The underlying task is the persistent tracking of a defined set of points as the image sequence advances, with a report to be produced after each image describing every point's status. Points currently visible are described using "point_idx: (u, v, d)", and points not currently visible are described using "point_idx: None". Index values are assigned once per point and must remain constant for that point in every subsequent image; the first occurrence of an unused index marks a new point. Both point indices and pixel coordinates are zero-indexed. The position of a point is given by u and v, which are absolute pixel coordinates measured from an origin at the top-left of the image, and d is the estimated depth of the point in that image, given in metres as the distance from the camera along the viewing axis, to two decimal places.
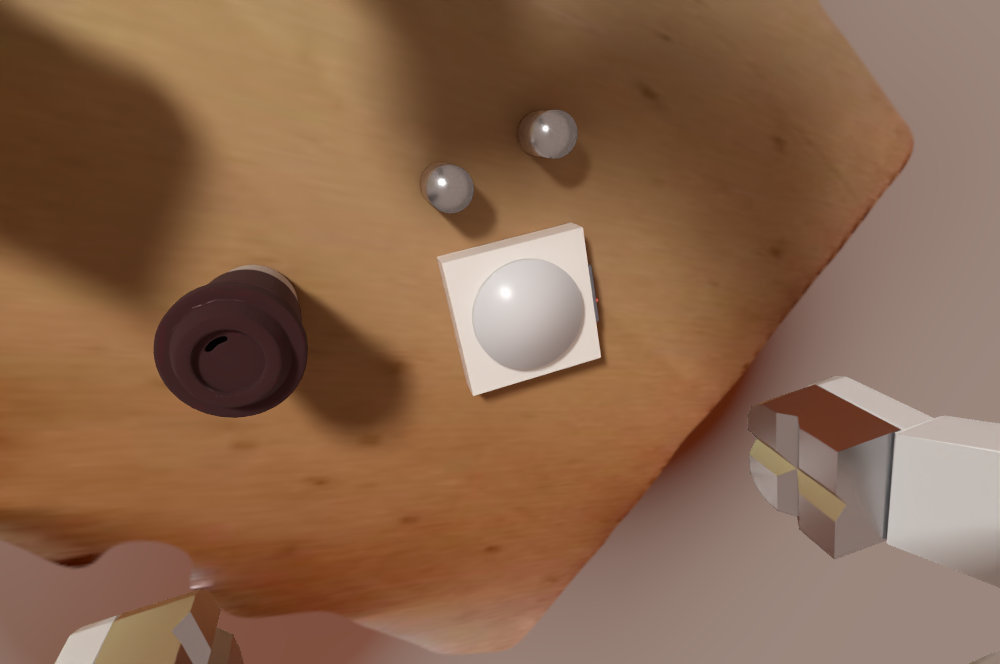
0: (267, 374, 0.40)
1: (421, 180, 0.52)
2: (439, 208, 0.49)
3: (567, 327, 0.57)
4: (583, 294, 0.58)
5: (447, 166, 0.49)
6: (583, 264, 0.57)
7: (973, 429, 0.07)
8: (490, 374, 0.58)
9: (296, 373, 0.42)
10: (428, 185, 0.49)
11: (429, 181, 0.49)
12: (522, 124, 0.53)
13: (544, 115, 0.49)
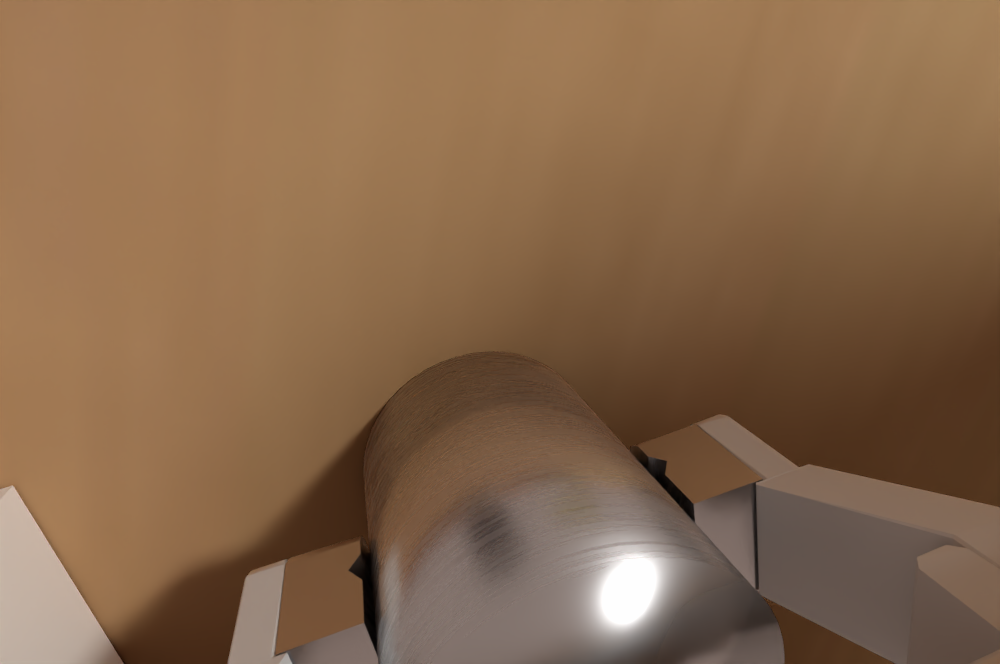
0: None
1: (527, 377, 0.09)
2: None
3: None
4: None
5: None
6: None
7: (832, 481, 0.07)
8: None
9: None
10: (653, 563, 0.05)
11: (687, 566, 0.05)
12: None
13: None
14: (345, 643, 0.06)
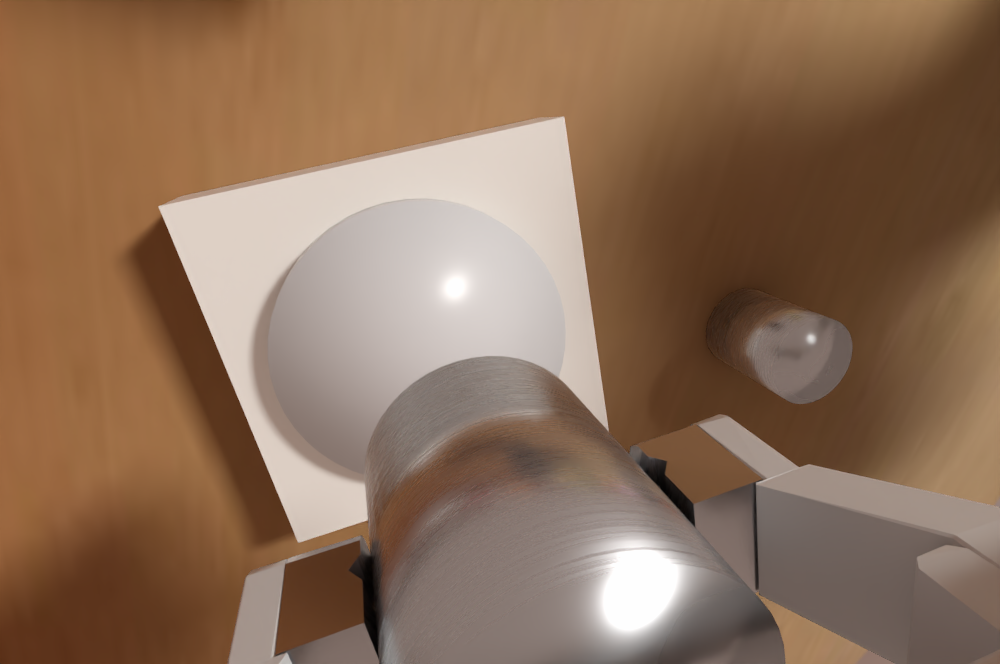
0: None
1: (528, 381, 0.09)
2: None
3: None
4: None
5: None
6: None
7: (832, 481, 0.07)
8: (237, 256, 0.20)
9: None
10: (653, 569, 0.05)
11: (687, 572, 0.05)
12: None
13: (847, 335, 0.25)
14: (345, 643, 0.06)
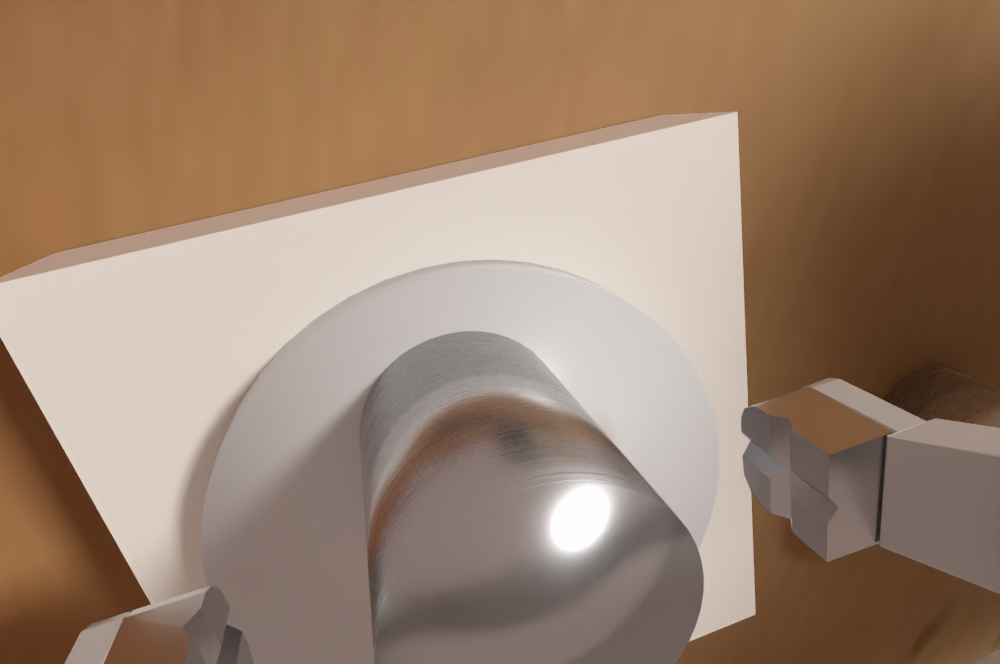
0: None
1: (502, 351, 0.10)
2: (411, 587, 0.06)
3: None
4: None
5: (697, 586, 0.07)
6: None
7: (965, 432, 0.07)
8: (142, 376, 0.10)
9: None
10: (588, 487, 0.06)
11: (615, 491, 0.06)
12: (975, 378, 0.19)
13: None
14: None
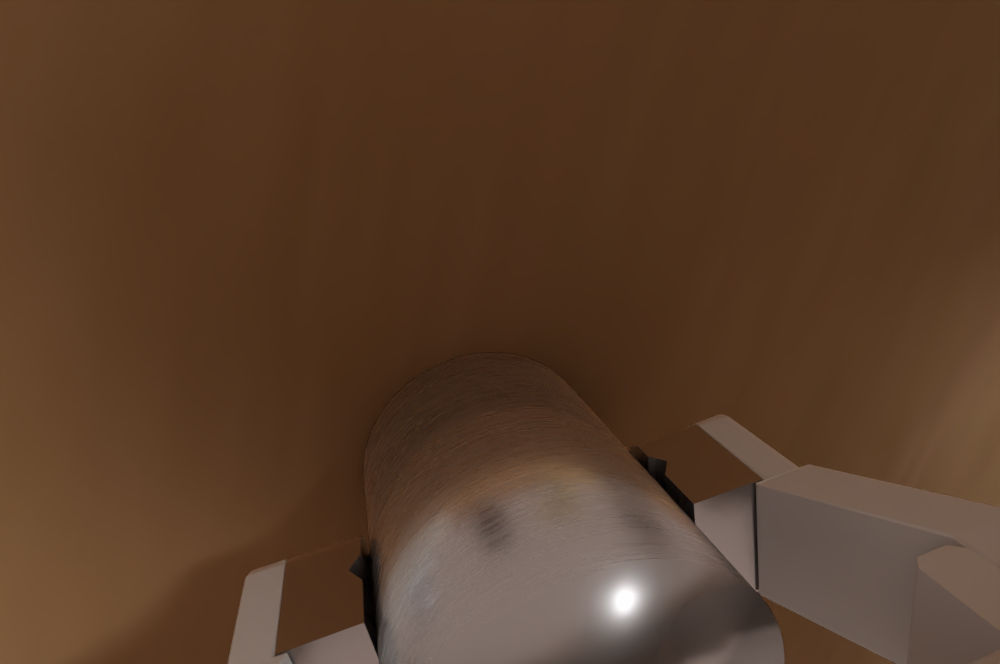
0: None
1: None
2: None
3: None
4: None
5: None
6: None
7: (832, 481, 0.07)
8: None
9: None
10: None
11: None
12: (549, 380, 0.09)
13: (757, 613, 0.06)
14: (345, 643, 0.06)
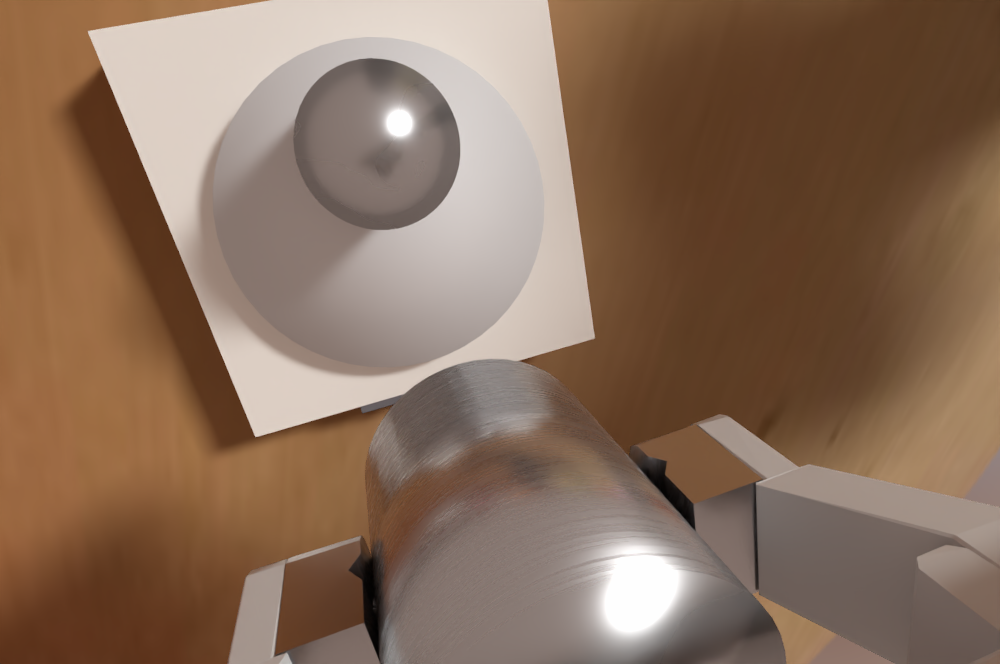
0: None
1: None
2: (309, 100, 0.13)
3: (354, 329, 0.21)
4: (436, 363, 0.23)
5: (456, 140, 0.15)
6: (511, 352, 0.24)
7: (832, 481, 0.07)
8: (179, 97, 0.18)
9: None
10: (392, 64, 0.14)
11: (407, 69, 0.14)
12: (549, 386, 0.09)
13: (759, 623, 0.06)
14: (345, 643, 0.06)
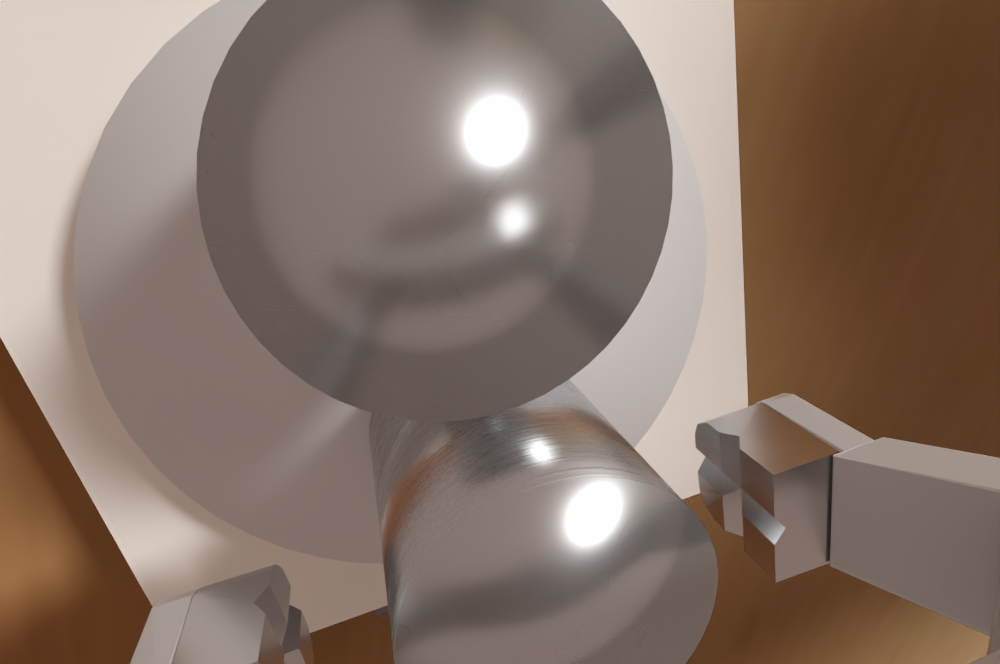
0: None
1: None
2: (248, 61, 0.04)
3: (364, 506, 0.11)
4: None
5: (664, 184, 0.05)
6: None
7: (910, 452, 0.07)
8: (0, 77, 0.09)
9: None
10: None
11: None
12: None
13: (692, 528, 0.07)
14: None
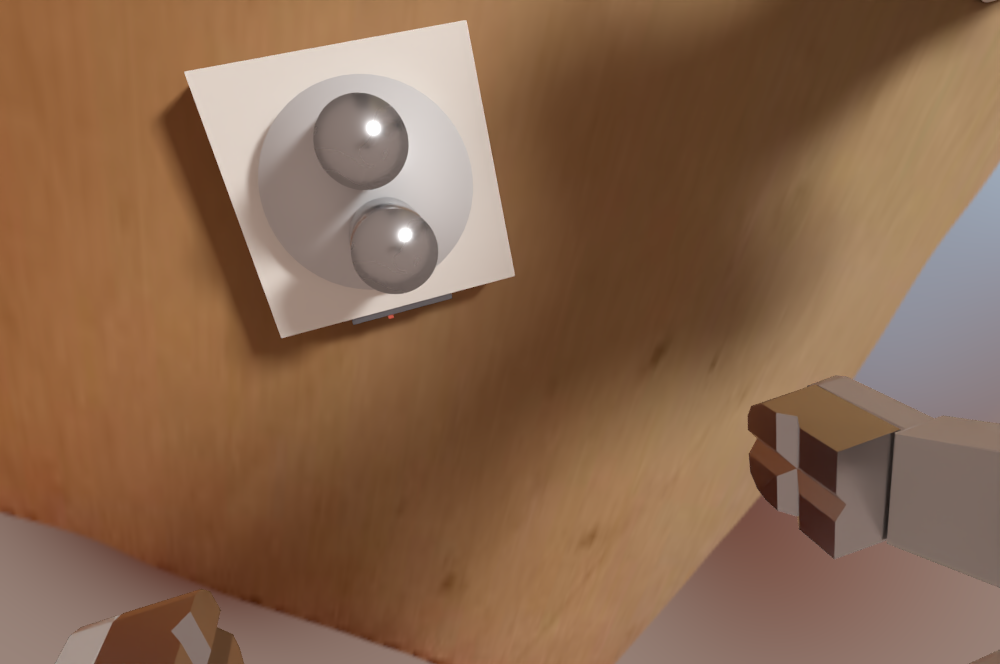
0: None
1: None
2: (323, 115, 0.24)
3: (347, 262, 0.31)
4: None
5: (406, 139, 0.25)
6: (455, 284, 0.34)
7: (973, 429, 0.07)
8: (237, 111, 0.29)
9: None
10: (369, 96, 0.24)
11: (377, 99, 0.25)
12: (402, 202, 0.30)
13: (427, 227, 0.27)
14: None
